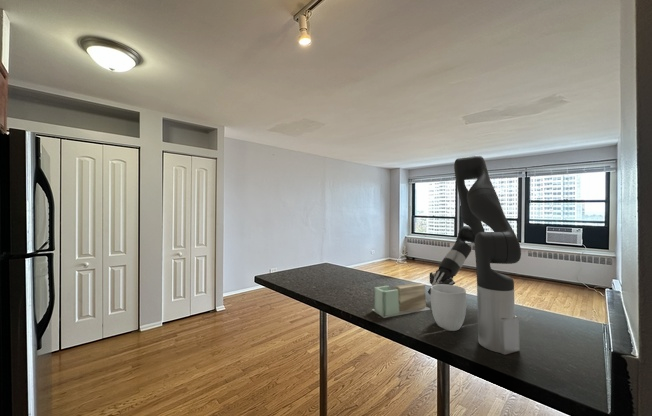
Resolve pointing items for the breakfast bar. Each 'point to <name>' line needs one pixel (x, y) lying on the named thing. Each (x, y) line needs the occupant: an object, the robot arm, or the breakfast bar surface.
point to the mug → (448, 306)
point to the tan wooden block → (411, 296)
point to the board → (405, 311)
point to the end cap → (386, 300)
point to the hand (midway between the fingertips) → (430, 294)
